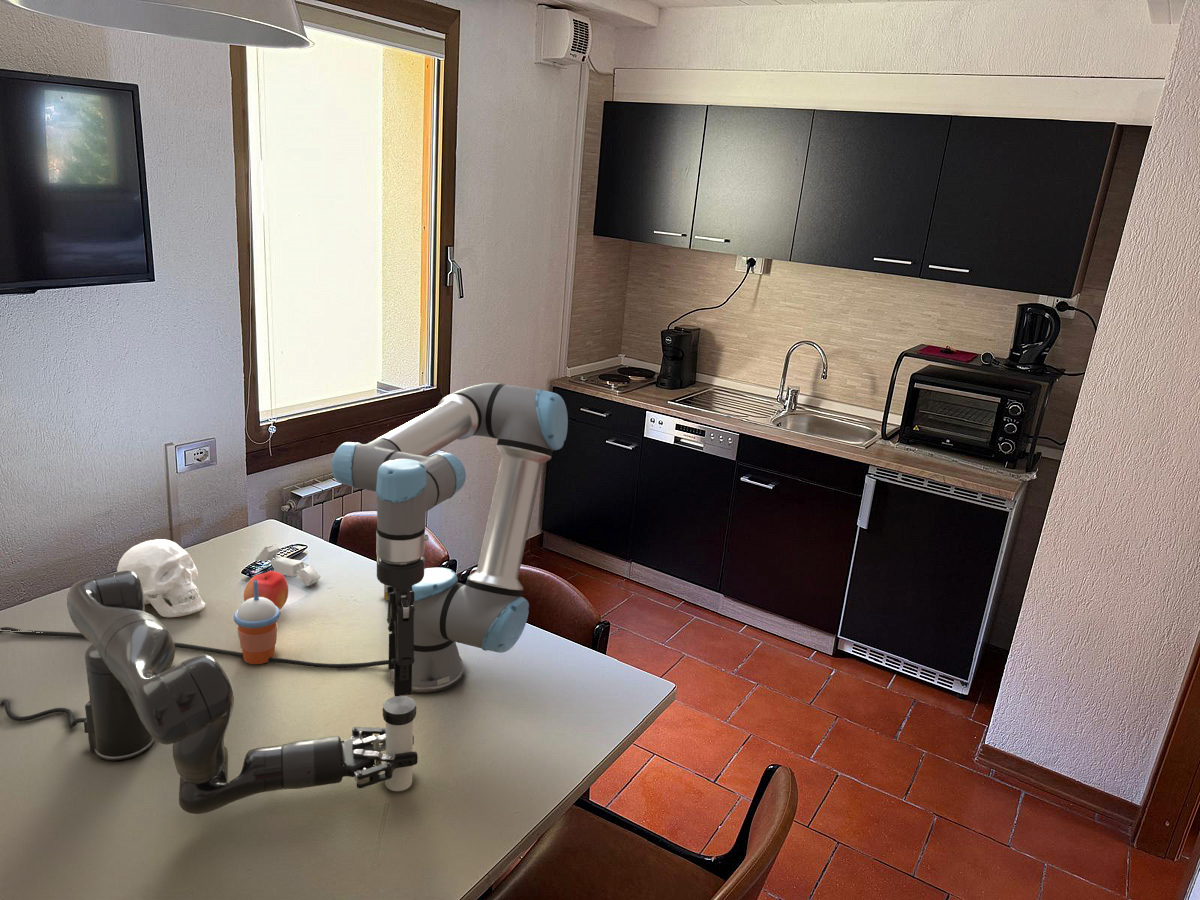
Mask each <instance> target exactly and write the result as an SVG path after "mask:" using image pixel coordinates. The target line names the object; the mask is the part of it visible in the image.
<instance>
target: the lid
mask: <svg viewBox="0 0 1200 900" xmlns="http://www.w3.org/2000/svg"><path fill="white" fill-rule="evenodd" d="M382 705H383V706H382V717H383V718H382V719H383V720H384V722H385V723H386V722H387V723H389V724H391V725H405V724H408V723H410V722H411V721H413V722H414V720H415V719H416V717H417V716H416V715H417V703H416V700H415V699H414V698H412V697H411V696H408V695H402V696H395V695H394V696H392V697H390V698H388V699H386V700H385V701H384V703H383V704H382Z"/></svg>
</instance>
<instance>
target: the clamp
mask: <svg viewBox="0 0 1200 900" xmlns="http://www.w3.org/2000/svg"><path fill="white" fill-rule="evenodd" d="M280 549H281V547H279V546H278V545H277V544H272V545H266V546H264V547H263V549H262V550H261V551H260V552H259V554H258V555H257V556H256V557H255V559H254V562H255V563H256V561H259V560H262V561H268V560H271V562H270V563H269V564H271V565H272V566H273V568H274V571H275V572H278V573H281V574H282V575H283V576H288V577H292V578H296V577H298V578H299V579H300V580H301V582H303V584H304V585H305V587H309V586H312V585H314V584H316V583H318V582H319V580H320V579H321V578H322V577H321V575H320V574H319V573H318V572H317V570H315V569H314V568H313V566H312V565H310V564H309V565H308V564H307V563H305V562H304V561H303V560H301V559H300V560H299V559H292V558H289V557H285V556H278V553H279V551H280ZM273 558H274V559H273ZM272 559H273V560H272ZM305 566H306V567H305ZM270 571H271V570H270Z"/></svg>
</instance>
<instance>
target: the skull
mask: <svg viewBox="0 0 1200 900" xmlns="http://www.w3.org/2000/svg"><path fill="white" fill-rule="evenodd" d="M127 570H129V571H133V572H134V573H136V574H137V576H138V577H139V579H140V581H141V584H142V587H143V593H144V607H145V605H150V604H151V606H152V607H153V609H155V611H156V612H157V613H158V615H160V616H161V617H163V618H178V617H184V616H188V615H192V614H195V613H197V612H200V611H202V610H203V609H204V608H205V606H206V602H205V601H204V600H203V599H202V597H201V595H200V593H199V592H200V590H199V588H198V587H197V586H196V584H195V583H194V582H193V580H195V579H196V578H197V577H198V575H199V572H198V569H197V566H196V565H195V562H194V560H193V558H192V556H191V555H190V553H189V552H188V551H186V550H185V549H184V548H182V547H181V546H180V545H179V544H178V543H177V542H175V541H173V540H169V539H165V538H156V539H149V540H146V541H143V542H140V543H137V544H136V545H133V546H132V547H130V548H129V549H128V550H126V552H124V553H123V555H122V556H121V557H120V559H119V562H118V564H117V567H116V572H121V571H127ZM188 597H189V598H188ZM165 600H167V601H169V603H170V604H171V605H169V604H168V603H167V602H166V601H165Z"/></svg>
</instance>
